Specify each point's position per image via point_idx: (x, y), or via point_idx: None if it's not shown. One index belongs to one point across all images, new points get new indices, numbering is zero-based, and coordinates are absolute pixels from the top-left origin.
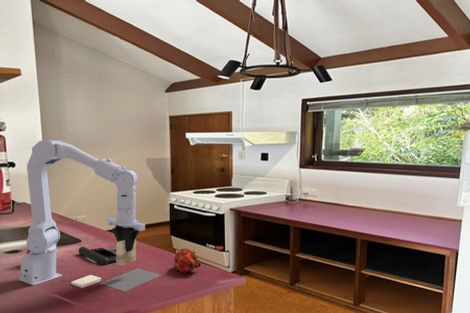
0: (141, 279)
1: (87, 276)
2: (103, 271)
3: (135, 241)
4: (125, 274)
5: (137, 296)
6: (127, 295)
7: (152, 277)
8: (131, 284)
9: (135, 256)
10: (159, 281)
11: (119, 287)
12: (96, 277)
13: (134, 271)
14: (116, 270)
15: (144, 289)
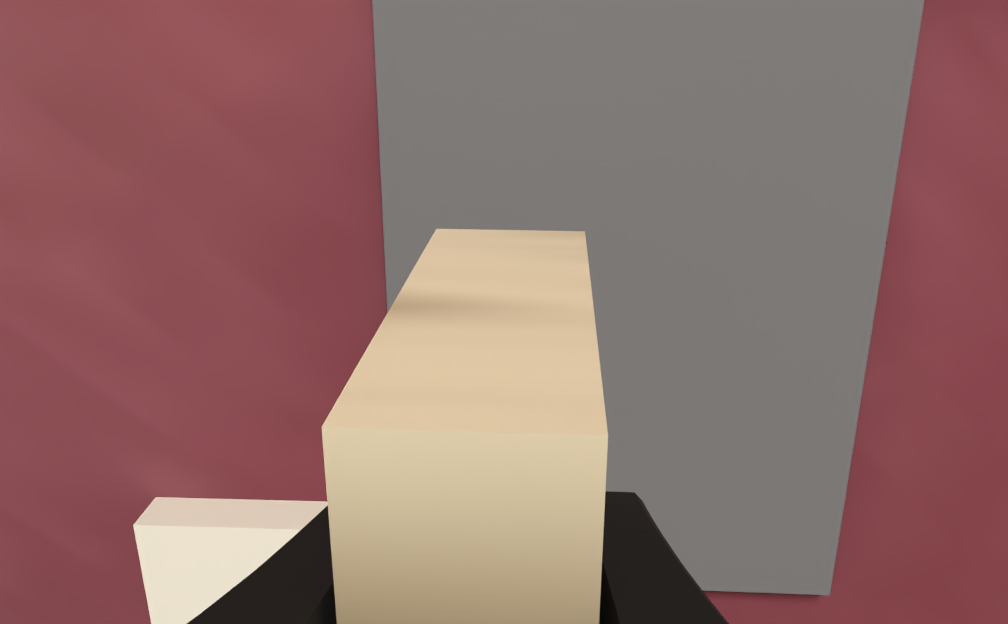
0: (758, 235)
1: (158, 575)
2: (43, 252)
3: (600, 425)
4: (424, 220)
5: (1003, 576)
6: (883, 606)
7: (861, 86)
8: (756, 428)
9: (587, 262)
10: (1005, 95)
11: (690, 554)
12: (269, 546)
13: (437, 47)
14: (140, 120)
15: (965, 407)
